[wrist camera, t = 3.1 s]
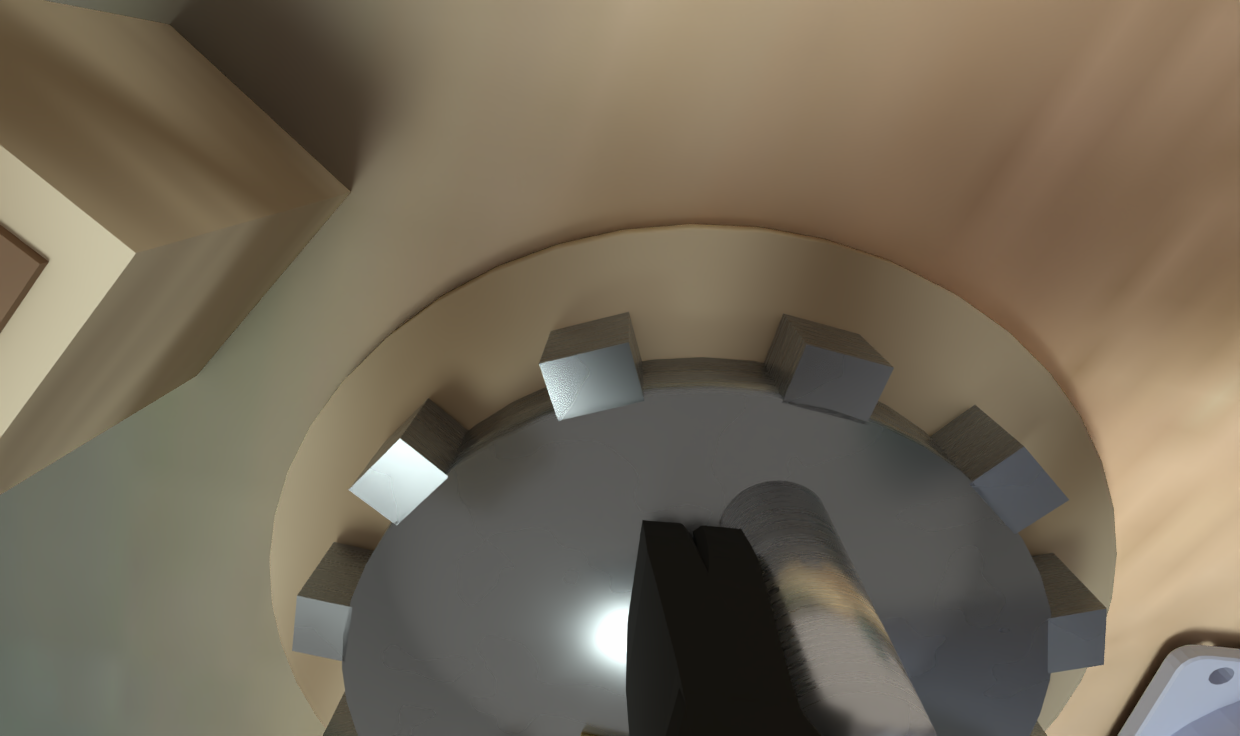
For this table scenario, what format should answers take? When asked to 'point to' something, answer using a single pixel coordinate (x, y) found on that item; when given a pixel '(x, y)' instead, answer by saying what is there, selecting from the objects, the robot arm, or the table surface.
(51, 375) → the link block
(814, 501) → the sprocket
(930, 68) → the table surface
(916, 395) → the sprocket base
